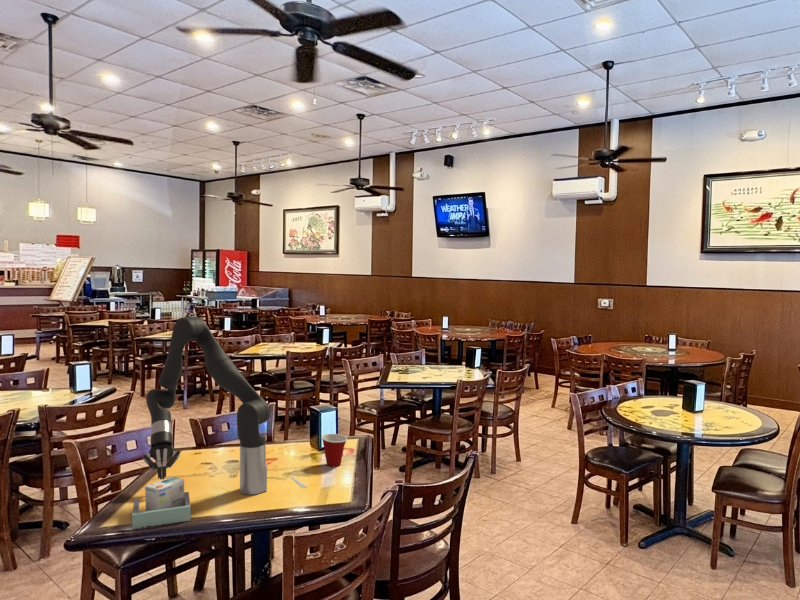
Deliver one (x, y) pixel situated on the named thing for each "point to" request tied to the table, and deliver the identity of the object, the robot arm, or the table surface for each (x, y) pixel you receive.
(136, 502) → the cradle
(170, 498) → the light bulb box
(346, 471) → the table surface
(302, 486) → the butter knife
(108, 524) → the table surface
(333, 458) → the plastic cup
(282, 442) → the table surface
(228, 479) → the table surface
